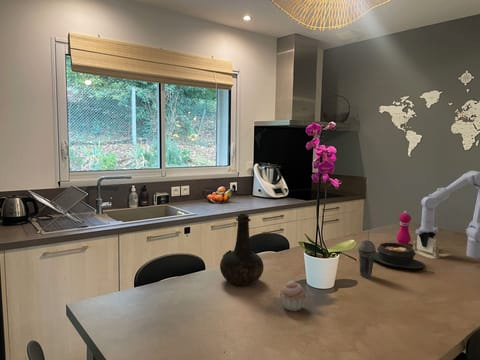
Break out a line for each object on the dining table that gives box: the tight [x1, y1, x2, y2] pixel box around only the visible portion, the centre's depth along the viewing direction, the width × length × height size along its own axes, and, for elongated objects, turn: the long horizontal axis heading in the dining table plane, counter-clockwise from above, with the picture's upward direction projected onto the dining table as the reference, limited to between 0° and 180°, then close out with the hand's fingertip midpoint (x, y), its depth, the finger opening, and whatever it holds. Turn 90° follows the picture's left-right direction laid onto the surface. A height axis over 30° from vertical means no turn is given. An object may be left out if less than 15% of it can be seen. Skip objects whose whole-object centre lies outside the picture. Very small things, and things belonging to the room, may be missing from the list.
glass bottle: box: [219, 213, 264, 287], centre depth 149 cm, size 18×18×28 cm
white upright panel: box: [416, 234, 437, 253], centre depth 188 cm, size 2×9×7 cm, turn 26°
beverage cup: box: [358, 229, 377, 279], centre depth 158 cm, size 7×7×20 cm
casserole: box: [374, 242, 425, 270], centre depth 175 cm, size 25×19×8 cm
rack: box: [412, 239, 451, 260], centre depth 190 cm, size 15×14×6 cm
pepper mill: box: [396, 210, 412, 246], centre depth 204 cm, size 7×7×20 cm
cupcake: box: [279, 279, 307, 312], centre depth 128 cm, size 9×9×10 cm
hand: (425, 246), depth 189 cm, fingers closed on white upright panel, 2 cm apart
